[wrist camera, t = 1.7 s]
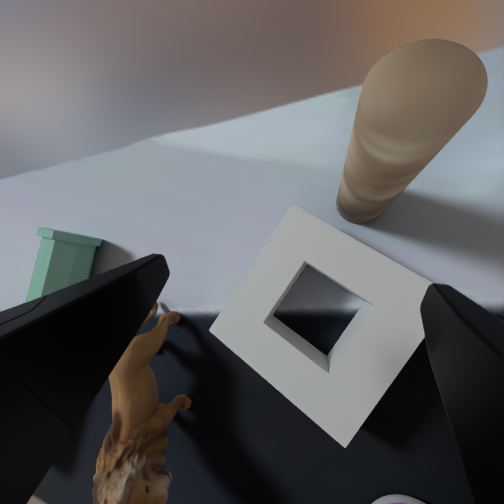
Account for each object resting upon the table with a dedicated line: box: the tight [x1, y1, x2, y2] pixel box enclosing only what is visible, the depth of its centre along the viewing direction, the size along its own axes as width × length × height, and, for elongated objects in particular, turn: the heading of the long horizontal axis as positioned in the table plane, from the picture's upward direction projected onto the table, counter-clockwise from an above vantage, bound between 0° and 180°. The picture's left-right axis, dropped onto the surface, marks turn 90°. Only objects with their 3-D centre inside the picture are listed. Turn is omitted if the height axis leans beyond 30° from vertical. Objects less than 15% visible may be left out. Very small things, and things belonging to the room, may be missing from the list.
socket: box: [209, 204, 432, 448], centre depth 18 cm, size 12×12×4 cm
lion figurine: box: [92, 302, 192, 504], centre depth 19 cm, size 15×5×9 cm, turn 18°
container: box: [26, 227, 102, 302], centre depth 25 cm, size 6×6×25 cm
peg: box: [336, 39, 488, 224], centre depth 14 cm, size 4×4×12 cm
